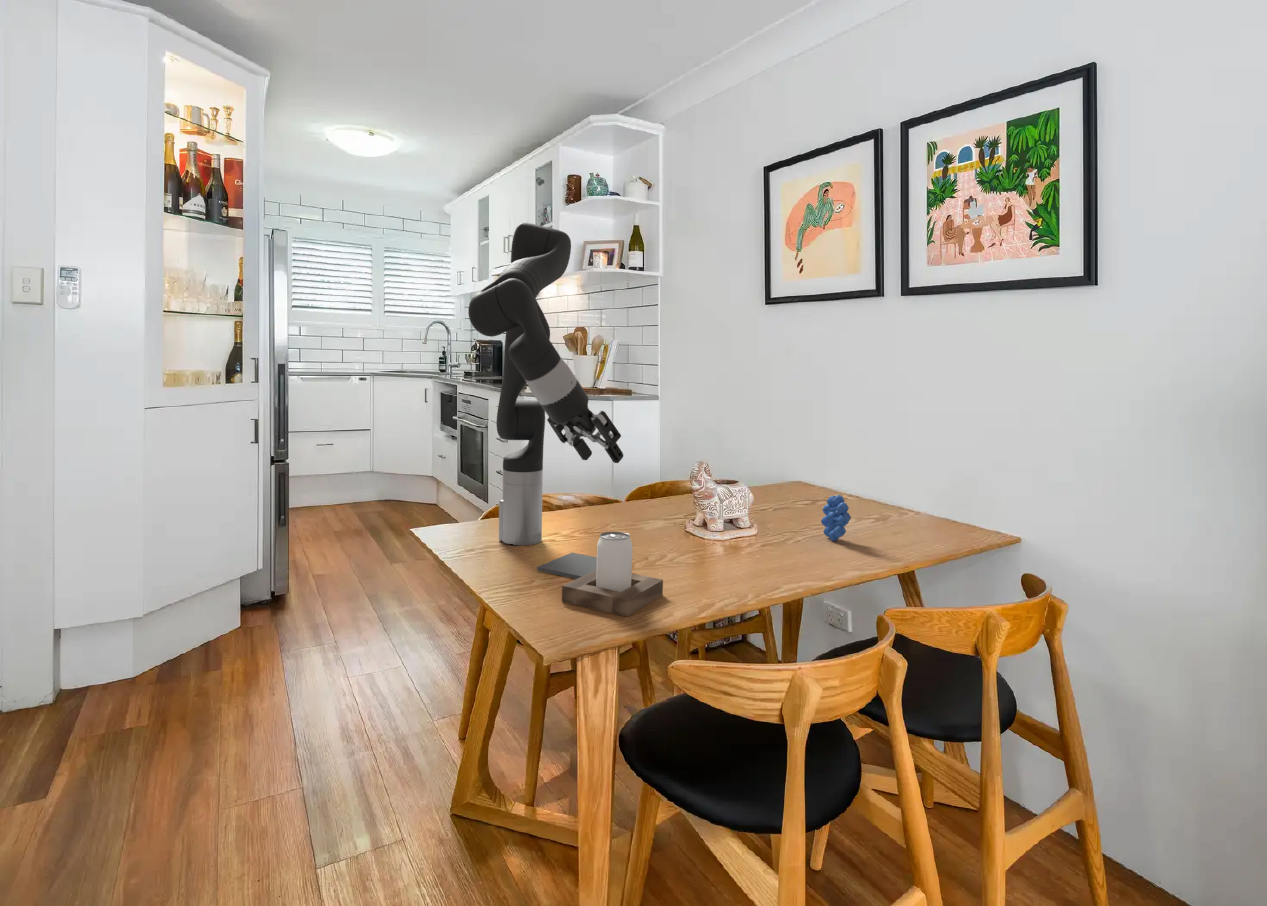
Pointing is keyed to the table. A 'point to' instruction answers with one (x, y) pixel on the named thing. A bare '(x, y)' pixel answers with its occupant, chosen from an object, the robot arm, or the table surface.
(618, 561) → the can
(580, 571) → the mat
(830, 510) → the grapes
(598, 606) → the collar
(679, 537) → the table surface
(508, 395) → the robot arm
